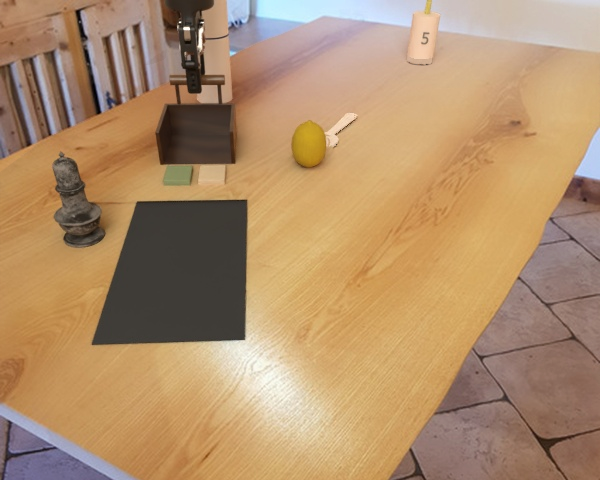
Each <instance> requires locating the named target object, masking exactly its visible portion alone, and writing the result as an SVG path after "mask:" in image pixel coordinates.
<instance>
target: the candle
mask: <svg viewBox="0 0 600 480" xmlns="http://www.w3.org/2000/svg"><path fill="white" fill-rule="evenodd" d="M432 3H433V0H426V2H425V7H424V10H416V11H413V12H412V17H411V23H410V24H411V26H410V33H409V40H408V47H407V54H406V56H407V55H408V56H409V57H411V58H414V59H429V58H432V57H433V58H434V56H435V50H436V44H437V37H438V32H439V25H440V20H441V14H440V13H439V12H436V11H432V10H431V9H432Z"/></svg>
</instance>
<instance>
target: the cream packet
mask: <svg viewBox="0 0 600 480" xmlns="http://www.w3.org/2000/svg"><path fill="white" fill-rule="evenodd" d="M226 174H227V164H199V171H198V177H197V186H225V184H226Z"/></svg>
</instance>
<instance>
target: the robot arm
mask: <svg viewBox="0 0 600 480" xmlns="http://www.w3.org/2000/svg"><path fill="white" fill-rule="evenodd" d="M163 5H164V7H165V8H166V9H168V10H170V11H173V12H176V11H177V12H178V13H179V14H180V18H178V22H177V24H176V27H177V28H176V29H177V30H176V31H177V35H178V41H179V51H180V59H181V63H180V66H181V68H182V69H183V70H185V71H184V72H185V75H186V80H187V85H186V88H187V93H188V94H191V95H196V94H200V93H201V92H202V85H201V75H205V62H204V52H203V51H204V49H205V46H204V44H205V19H203V17H202V11H205V10H208V9H210V8H212V7H213V5H214V0H163ZM188 56H190V59H188Z"/></svg>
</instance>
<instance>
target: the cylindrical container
mask: <svg viewBox="0 0 600 480" xmlns="http://www.w3.org/2000/svg"><path fill="white" fill-rule="evenodd" d="M202 17H203V19H205V44H204V46H205V49H204V51H203V52H204V62H205V75H225V85H221V92H222V103H230V102H231V101H233V100H232V99H233V86H232V85H233V84H232V67H231V65H232V64H231V50H230V35H229V33H230V32H229V18H228V17H229V16H228V1H227V0H214V5H213V7H212V8H210V9H208V10H205V11H202ZM195 95H196V100H197V101H198V103H219V102H218V89H217V85H202V92H201V93H200V94H195Z"/></svg>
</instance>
